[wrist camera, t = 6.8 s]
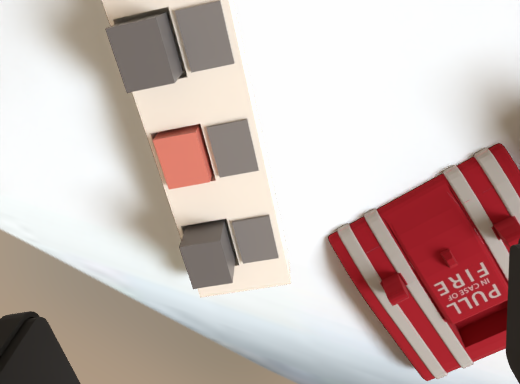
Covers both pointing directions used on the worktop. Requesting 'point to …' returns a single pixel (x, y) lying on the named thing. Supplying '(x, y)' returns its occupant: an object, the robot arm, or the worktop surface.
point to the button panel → (216, 136)
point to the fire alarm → (440, 262)
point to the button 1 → (145, 52)
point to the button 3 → (208, 254)
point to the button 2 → (183, 156)
